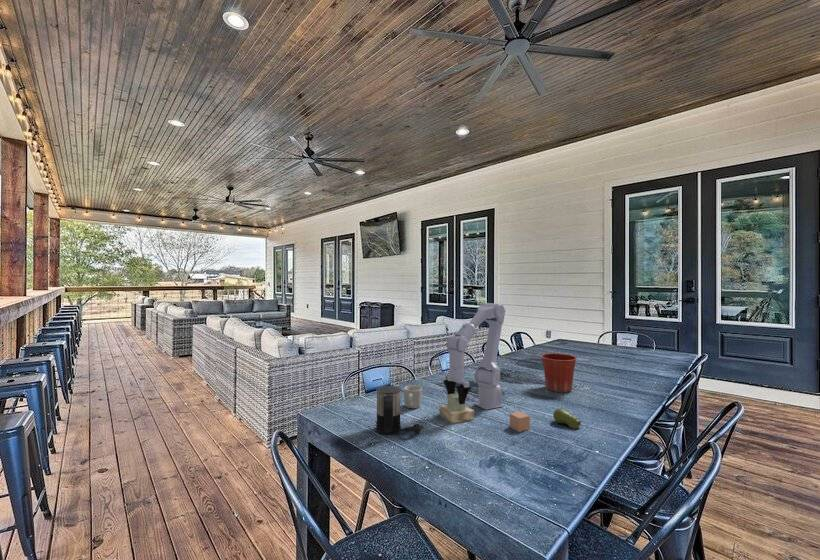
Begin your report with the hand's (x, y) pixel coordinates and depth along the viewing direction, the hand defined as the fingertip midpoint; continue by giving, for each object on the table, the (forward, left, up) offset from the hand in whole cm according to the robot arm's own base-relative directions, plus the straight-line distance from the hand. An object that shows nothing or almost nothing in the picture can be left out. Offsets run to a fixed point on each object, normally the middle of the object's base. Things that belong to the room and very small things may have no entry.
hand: (456, 400), depth 147 cm
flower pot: (-66, -9, -7) cm, 67 cm away
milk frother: (+26, +2, -7) cm, 27 cm away
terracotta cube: (-15, +19, -6) cm, 25 cm away
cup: (+11, -17, -7) cm, 21 cm away
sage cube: (0, 0, -3) cm, 3 cm away
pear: (-33, +24, -7) cm, 42 cm away
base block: (0, 0, -7) cm, 7 cm away
